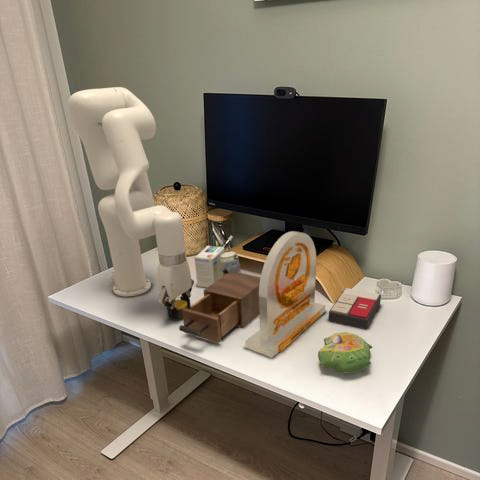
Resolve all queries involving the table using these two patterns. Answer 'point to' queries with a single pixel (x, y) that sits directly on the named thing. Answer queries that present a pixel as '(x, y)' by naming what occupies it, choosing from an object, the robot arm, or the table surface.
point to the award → (286, 294)
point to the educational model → (345, 353)
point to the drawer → (211, 317)
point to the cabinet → (239, 293)
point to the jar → (180, 307)
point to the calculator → (355, 308)
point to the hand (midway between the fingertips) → (179, 313)
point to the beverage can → (229, 263)
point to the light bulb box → (209, 265)
